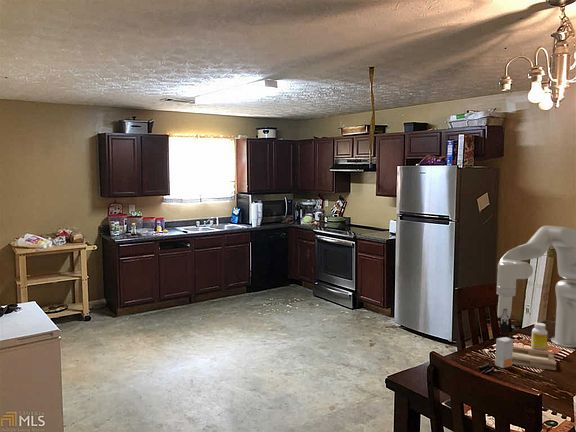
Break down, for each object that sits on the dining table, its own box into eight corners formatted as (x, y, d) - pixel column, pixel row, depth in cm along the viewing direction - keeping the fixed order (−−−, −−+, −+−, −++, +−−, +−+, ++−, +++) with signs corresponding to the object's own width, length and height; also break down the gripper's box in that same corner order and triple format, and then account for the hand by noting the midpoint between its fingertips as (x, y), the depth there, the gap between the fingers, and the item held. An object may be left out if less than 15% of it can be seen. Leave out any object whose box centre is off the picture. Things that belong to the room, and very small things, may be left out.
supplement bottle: (548, 353, 227) (550, 326, 226) (533, 352, 229) (534, 325, 227) (543, 348, 234) (545, 322, 233) (529, 347, 235) (530, 321, 234)
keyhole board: (504, 350, 231) (504, 345, 230) (552, 357, 223) (552, 351, 223) (504, 362, 216) (505, 357, 216) (556, 370, 208) (556, 364, 208)
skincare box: (502, 368, 210) (504, 341, 209) (494, 365, 214) (495, 338, 212) (512, 366, 213) (513, 339, 211) (504, 362, 216) (505, 336, 215)
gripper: (496, 286, 219) (494, 323, 220) (496, 294, 203) (494, 334, 205) (514, 287, 216) (512, 325, 217) (516, 296, 200) (513, 337, 202)
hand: (503, 329), depth 211 cm, fingers open, 9 cm apart
